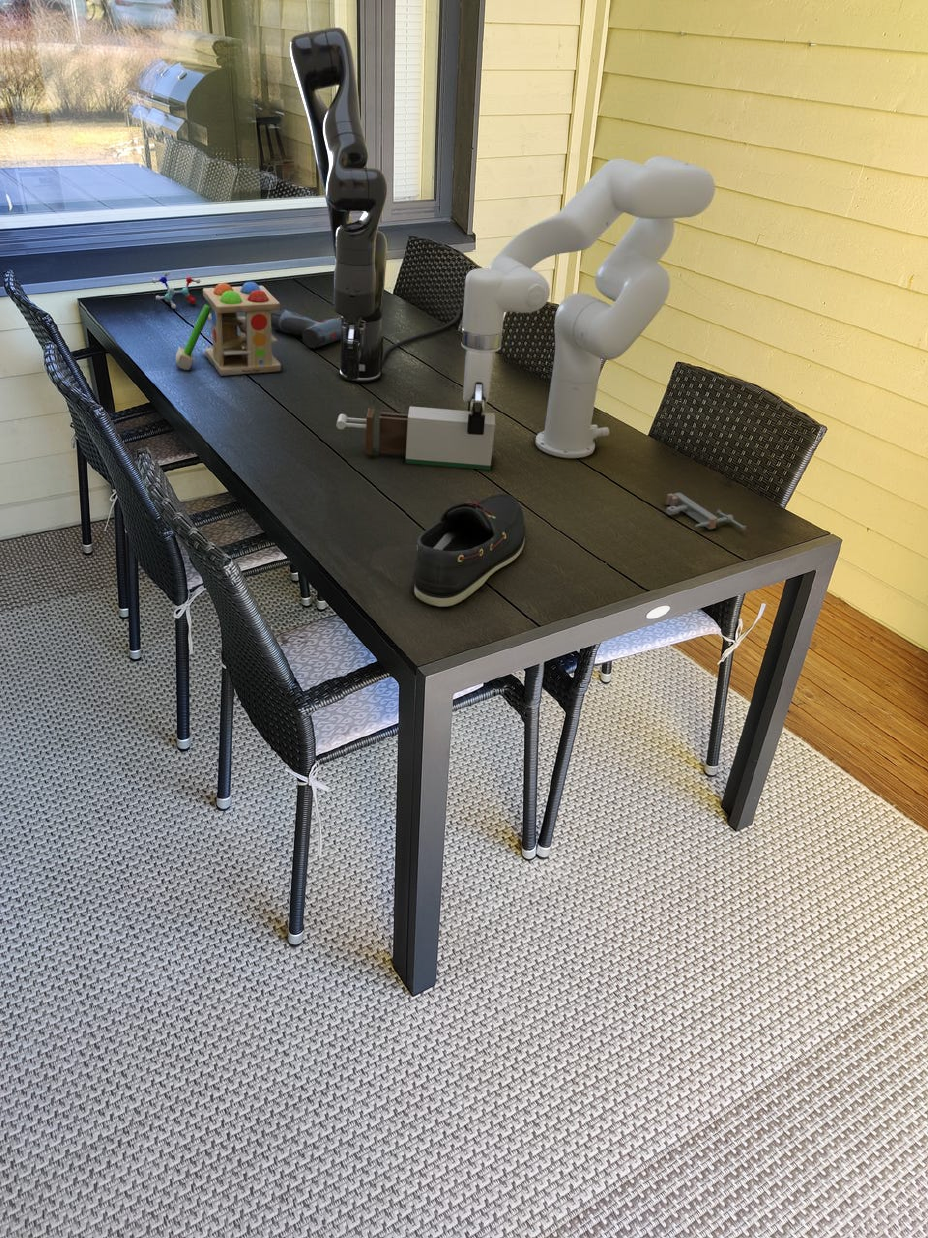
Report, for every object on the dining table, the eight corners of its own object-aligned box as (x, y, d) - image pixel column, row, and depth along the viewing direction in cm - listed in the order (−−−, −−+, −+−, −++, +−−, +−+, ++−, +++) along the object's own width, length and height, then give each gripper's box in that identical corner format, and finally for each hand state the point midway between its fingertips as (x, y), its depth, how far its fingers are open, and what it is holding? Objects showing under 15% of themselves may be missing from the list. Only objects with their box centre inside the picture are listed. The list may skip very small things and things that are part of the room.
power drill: (305, 316, 264) (364, 334, 256) (257, 332, 251) (318, 351, 243) (305, 296, 261) (365, 314, 253) (257, 311, 248) (318, 330, 240)
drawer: (335, 451, 194) (336, 414, 190) (338, 442, 198) (338, 405, 194) (444, 460, 195) (447, 423, 191) (445, 451, 199) (448, 414, 194)
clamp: (655, 496, 187) (694, 487, 191) (652, 506, 188) (692, 497, 192) (708, 532, 176) (748, 523, 181) (705, 543, 177) (745, 533, 182)
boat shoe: (551, 538, 175) (557, 484, 170) (450, 614, 151) (453, 554, 146) (489, 517, 181) (493, 465, 175) (383, 588, 157) (383, 530, 151)
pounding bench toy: (183, 379, 220) (176, 299, 210) (169, 357, 231) (162, 280, 221) (282, 371, 230) (280, 294, 220) (264, 350, 240) (262, 276, 230)
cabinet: (405, 463, 195) (407, 417, 189) (407, 451, 200) (409, 406, 194) (490, 470, 195) (495, 424, 190) (490, 458, 200) (494, 413, 195)
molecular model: (184, 300, 255) (170, 262, 254) (156, 313, 259) (142, 276, 258) (209, 302, 266) (196, 266, 265) (181, 315, 270) (168, 279, 268)
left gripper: (338, 274, 184) (337, 364, 193) (329, 294, 173) (328, 388, 183) (378, 277, 184) (375, 367, 194) (371, 298, 173) (369, 392, 183)
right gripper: (462, 322, 191) (457, 405, 200) (460, 353, 176) (455, 441, 186) (500, 324, 191) (494, 407, 201) (502, 356, 177) (494, 443, 186)
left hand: (352, 377), depth 188 cm, fingers closed
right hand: (475, 423), depth 193 cm, fingers open, 9 cm apart
